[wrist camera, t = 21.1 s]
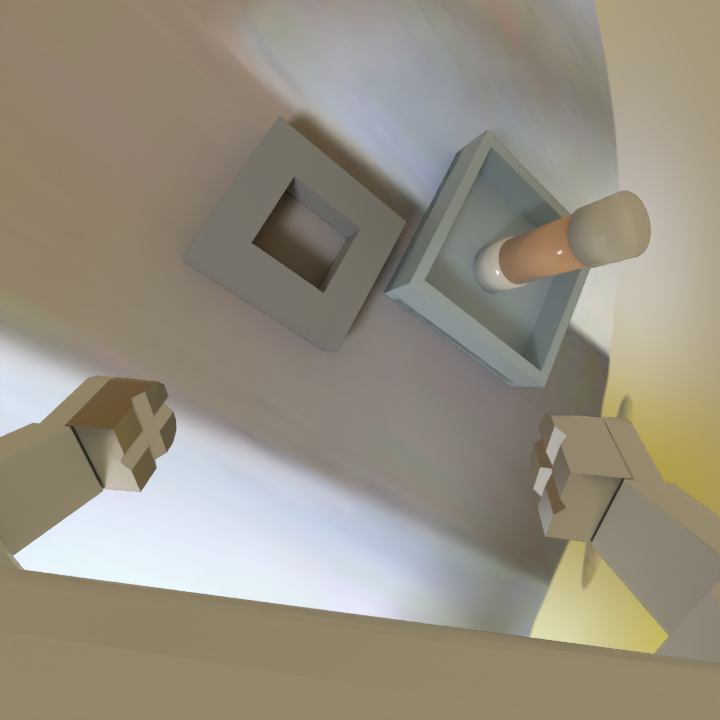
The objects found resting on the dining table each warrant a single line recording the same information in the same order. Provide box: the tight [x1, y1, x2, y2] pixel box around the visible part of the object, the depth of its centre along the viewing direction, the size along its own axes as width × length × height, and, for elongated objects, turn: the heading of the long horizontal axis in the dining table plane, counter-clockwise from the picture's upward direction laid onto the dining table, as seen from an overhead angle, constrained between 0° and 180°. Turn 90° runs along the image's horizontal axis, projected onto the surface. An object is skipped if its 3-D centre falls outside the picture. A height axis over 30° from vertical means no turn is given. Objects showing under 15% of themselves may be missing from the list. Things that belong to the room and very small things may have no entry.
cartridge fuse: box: [473, 191, 650, 293], centre depth 35 cm, size 4×4×13 cm
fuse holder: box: [183, 116, 406, 352], centre depth 33 cm, size 12×12×2 cm
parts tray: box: [384, 130, 590, 387], centre depth 40 cm, size 16×16×4 cm
